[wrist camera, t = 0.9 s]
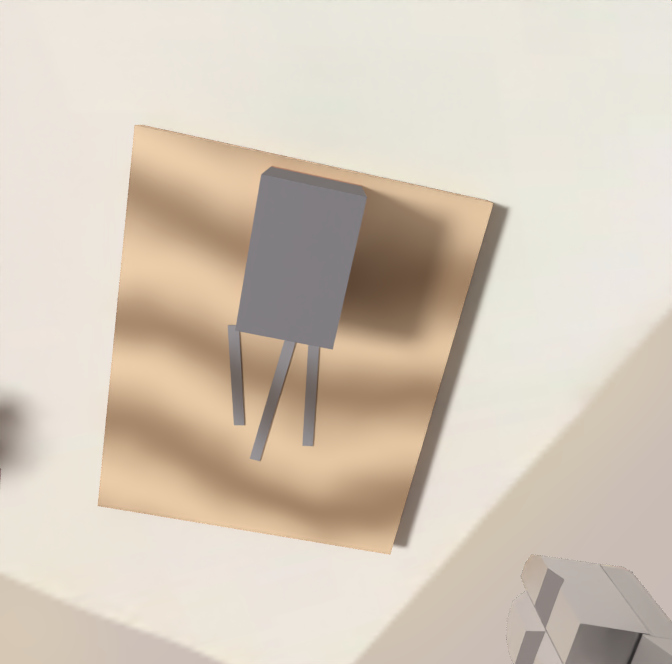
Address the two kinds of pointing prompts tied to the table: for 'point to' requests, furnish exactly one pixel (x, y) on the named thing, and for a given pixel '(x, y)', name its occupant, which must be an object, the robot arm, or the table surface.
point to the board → (275, 353)
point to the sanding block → (300, 256)
